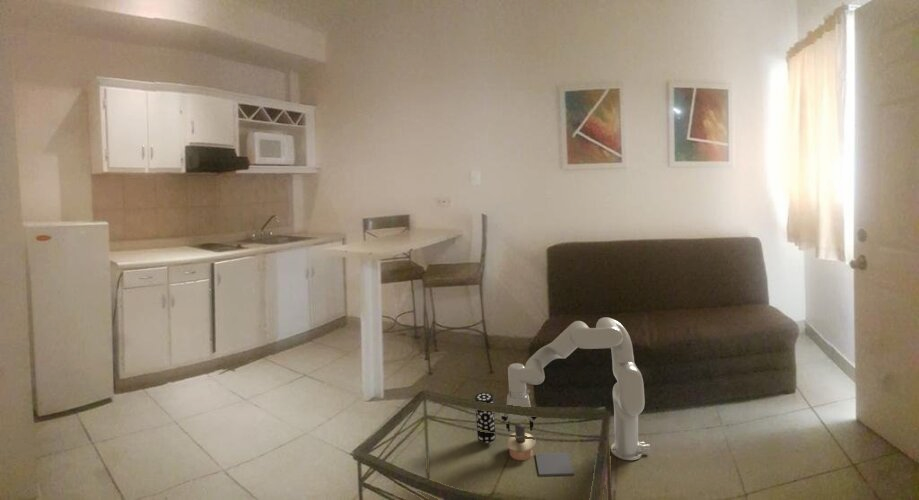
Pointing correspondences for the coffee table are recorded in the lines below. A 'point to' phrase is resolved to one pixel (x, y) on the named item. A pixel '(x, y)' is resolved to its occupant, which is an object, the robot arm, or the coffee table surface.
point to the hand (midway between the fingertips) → (519, 429)
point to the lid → (520, 440)
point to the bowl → (521, 454)
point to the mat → (554, 464)
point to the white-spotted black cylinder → (485, 419)
